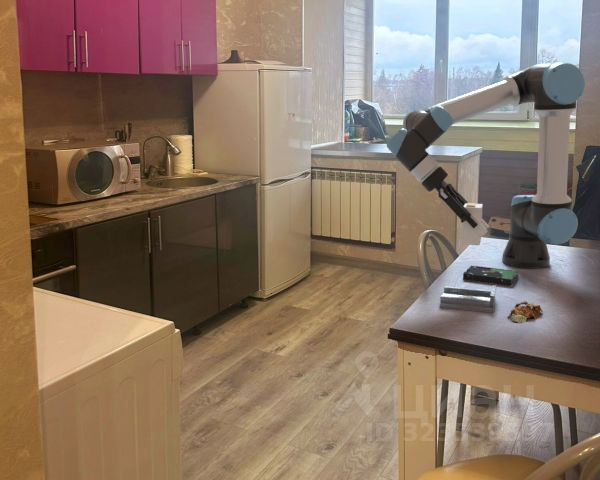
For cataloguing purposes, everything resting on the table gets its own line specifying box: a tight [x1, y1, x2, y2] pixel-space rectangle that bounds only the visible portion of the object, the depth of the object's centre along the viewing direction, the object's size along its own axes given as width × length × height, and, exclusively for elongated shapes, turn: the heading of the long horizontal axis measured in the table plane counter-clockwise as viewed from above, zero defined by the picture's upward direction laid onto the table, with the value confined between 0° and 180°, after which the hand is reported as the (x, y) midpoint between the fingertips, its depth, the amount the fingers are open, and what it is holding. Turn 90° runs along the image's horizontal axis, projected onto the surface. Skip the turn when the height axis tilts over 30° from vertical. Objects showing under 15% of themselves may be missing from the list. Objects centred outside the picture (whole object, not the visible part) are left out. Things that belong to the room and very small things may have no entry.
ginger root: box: [507, 300, 544, 324], centre depth 170 cm, size 7×12×4 cm, turn 146°
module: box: [461, 202, 484, 246], centre depth 190 cm, size 5×6×11 cm
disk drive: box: [462, 265, 519, 287], centre depth 202 cm, size 10×3×15 cm
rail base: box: [439, 284, 497, 314], centre depth 180 cm, size 14×12×4 cm
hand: (484, 231), depth 189 cm, fingers closed on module, 6 cm apart
